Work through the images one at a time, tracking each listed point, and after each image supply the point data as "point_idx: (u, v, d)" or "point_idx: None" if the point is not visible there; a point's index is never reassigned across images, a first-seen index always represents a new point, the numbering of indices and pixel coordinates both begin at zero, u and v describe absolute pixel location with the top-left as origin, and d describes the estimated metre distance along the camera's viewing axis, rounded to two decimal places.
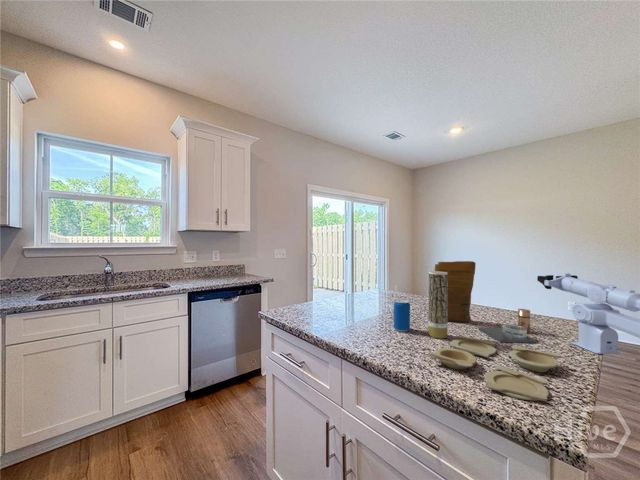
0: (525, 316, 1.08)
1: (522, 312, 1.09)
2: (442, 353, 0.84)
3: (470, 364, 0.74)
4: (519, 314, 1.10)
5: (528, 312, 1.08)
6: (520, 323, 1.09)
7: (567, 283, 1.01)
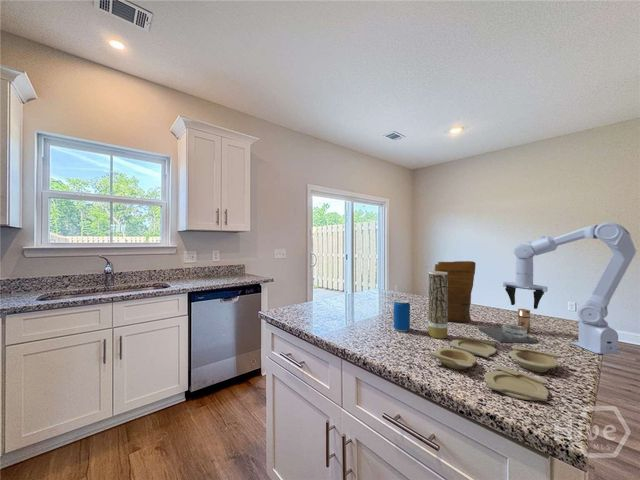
0: (525, 316, 1.08)
1: (522, 312, 1.09)
2: (442, 353, 0.84)
3: (470, 364, 0.74)
4: (519, 314, 1.10)
5: (528, 312, 1.08)
6: (520, 323, 1.09)
7: None
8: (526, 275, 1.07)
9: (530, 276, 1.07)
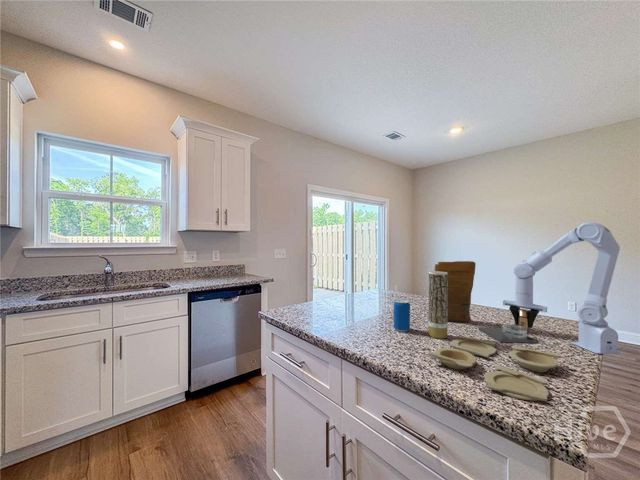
0: (525, 316, 1.08)
1: (522, 312, 1.09)
2: (442, 353, 0.84)
3: (470, 364, 0.74)
4: (519, 314, 1.10)
5: None
6: (520, 323, 1.09)
7: None
8: (525, 294, 1.07)
9: (530, 296, 1.07)
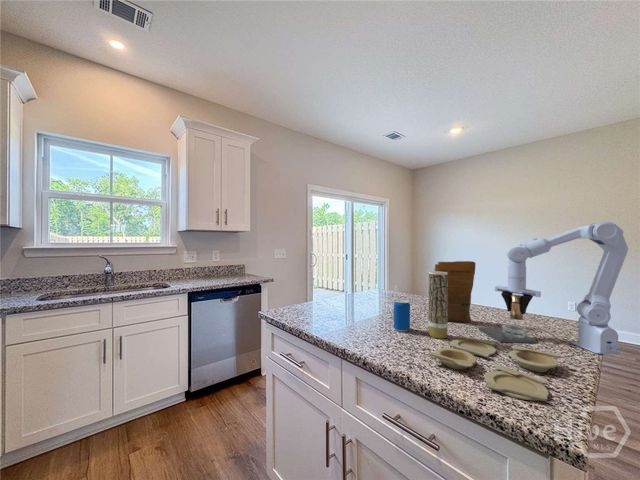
0: (518, 302, 1.03)
1: (514, 298, 1.04)
2: (442, 353, 0.84)
3: (470, 364, 0.74)
4: (511, 300, 1.05)
5: None
6: (512, 309, 1.04)
7: None
8: (518, 279, 1.02)
9: (523, 280, 1.02)
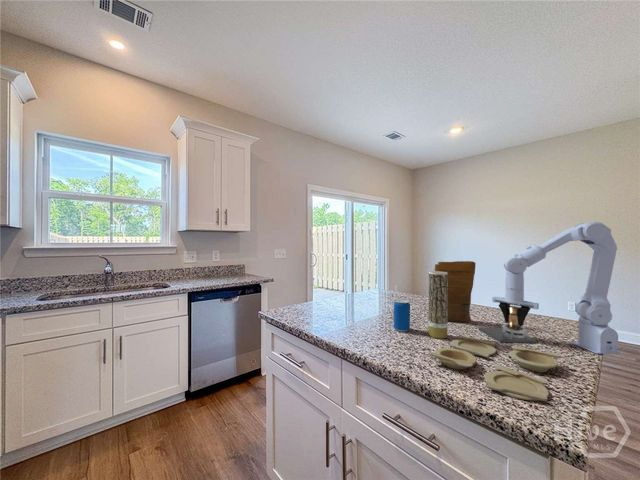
0: (515, 313, 1.01)
1: (512, 309, 1.02)
2: (442, 353, 0.84)
3: (470, 364, 0.74)
4: (509, 311, 1.03)
5: None
6: (510, 321, 1.03)
7: None
8: (516, 290, 1.00)
9: (520, 292, 1.00)
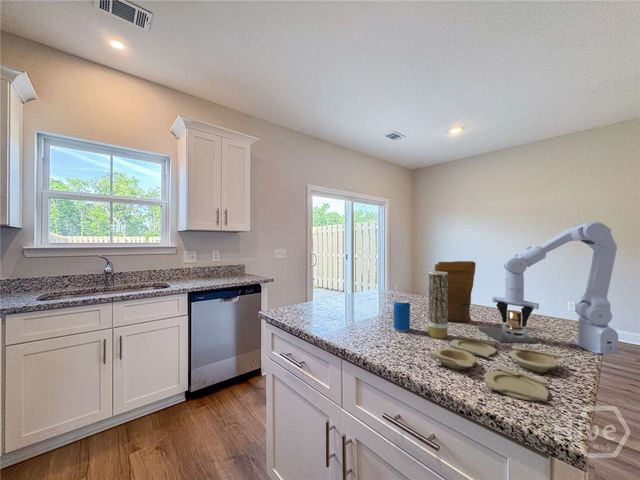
0: (516, 319, 1.01)
1: (512, 314, 1.02)
2: (442, 353, 0.84)
3: (470, 364, 0.74)
4: (509, 316, 1.03)
5: (519, 314, 1.01)
6: (510, 326, 1.02)
7: None
8: (516, 290, 1.00)
9: (520, 292, 1.00)
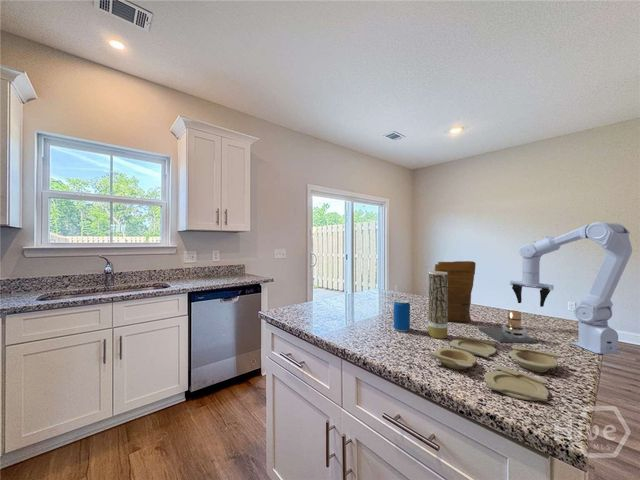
0: (515, 318, 1.01)
1: (512, 314, 1.02)
2: (442, 353, 0.84)
3: (470, 364, 0.74)
4: (509, 316, 1.03)
5: (519, 314, 1.01)
6: (510, 326, 1.03)
7: None
8: (532, 274, 1.11)
9: (536, 275, 1.11)
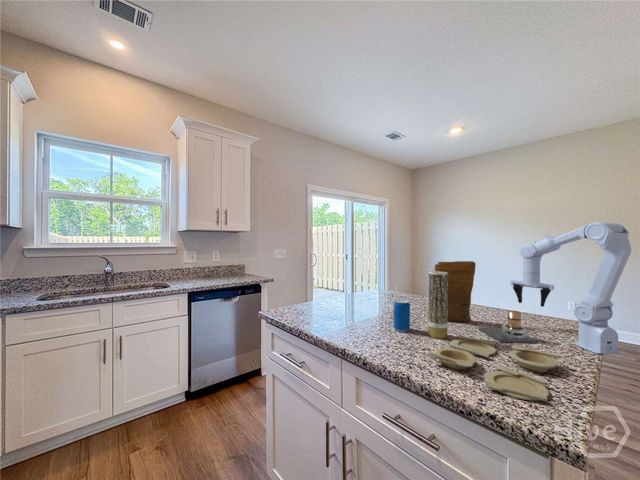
0: (515, 318, 1.01)
1: (512, 314, 1.02)
2: (442, 353, 0.84)
3: (470, 364, 0.74)
4: (509, 316, 1.03)
5: (518, 314, 1.01)
6: (510, 326, 1.03)
7: None
8: (533, 273, 1.11)
9: (537, 275, 1.11)
